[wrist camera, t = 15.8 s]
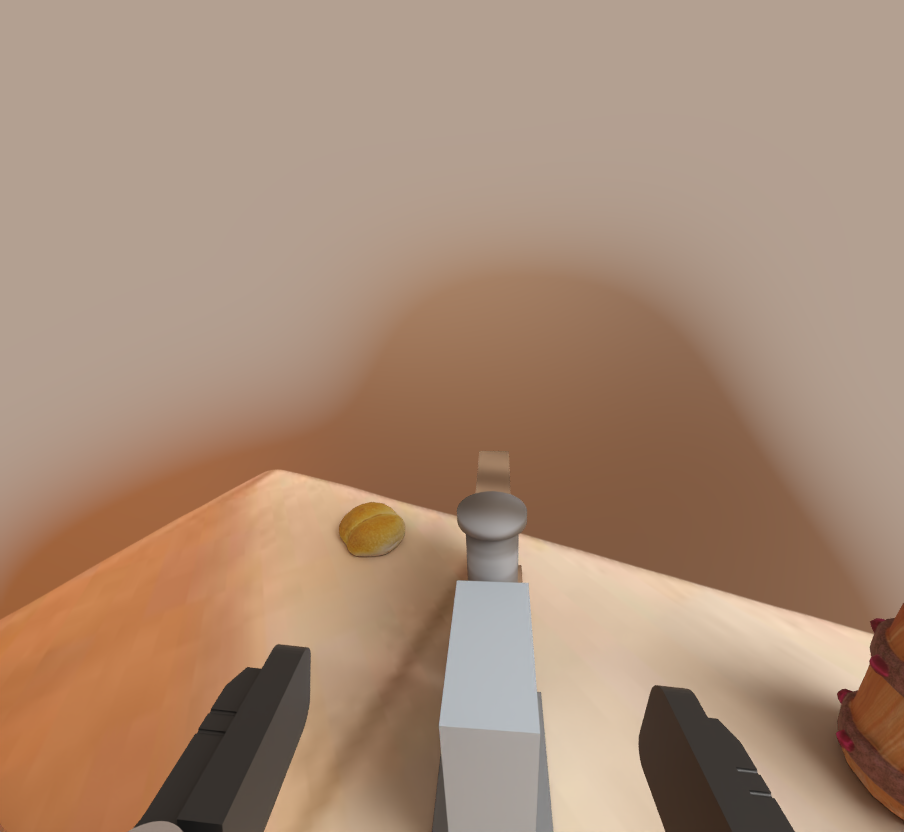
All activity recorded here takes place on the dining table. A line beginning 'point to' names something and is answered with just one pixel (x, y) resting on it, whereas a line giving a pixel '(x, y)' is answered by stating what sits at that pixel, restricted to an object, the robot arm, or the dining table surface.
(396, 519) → the bread roll
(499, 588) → the light grey block
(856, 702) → the mug
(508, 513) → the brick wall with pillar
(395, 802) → the dining table surface
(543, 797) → the seat pad
